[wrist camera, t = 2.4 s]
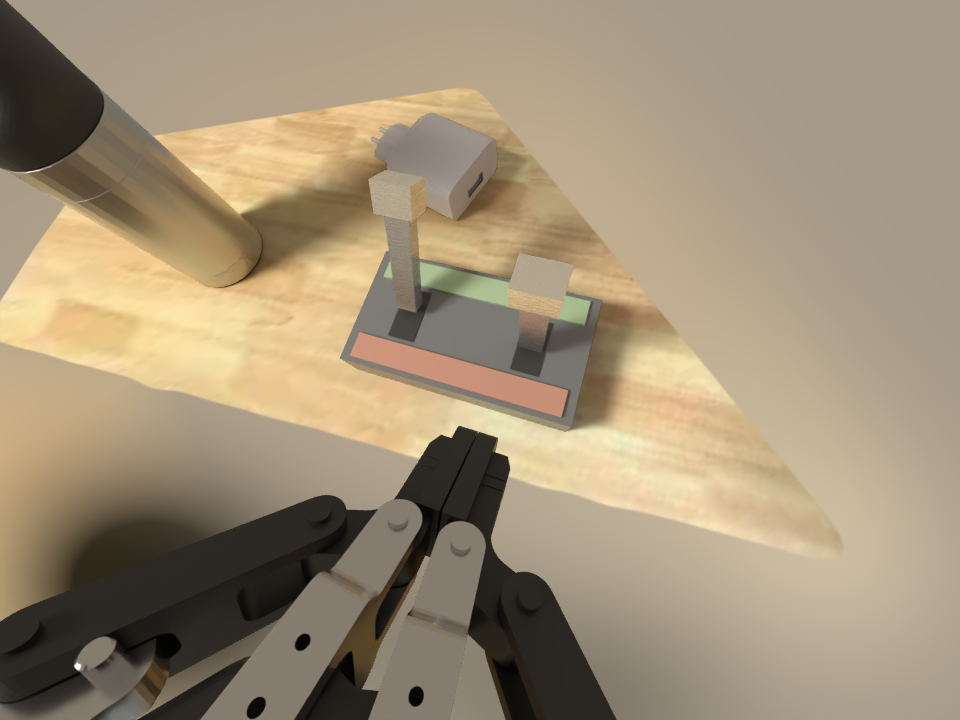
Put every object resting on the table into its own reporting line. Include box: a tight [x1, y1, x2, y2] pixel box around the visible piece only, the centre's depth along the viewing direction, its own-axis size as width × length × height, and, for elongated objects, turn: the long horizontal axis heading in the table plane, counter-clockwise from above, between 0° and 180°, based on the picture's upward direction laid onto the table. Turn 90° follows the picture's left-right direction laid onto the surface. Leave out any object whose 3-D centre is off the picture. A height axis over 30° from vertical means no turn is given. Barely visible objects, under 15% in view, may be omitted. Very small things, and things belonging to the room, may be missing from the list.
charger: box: [370, 113, 497, 221], centre depth 42 cm, size 5×9×15 cm
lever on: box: [368, 170, 426, 313], centre depth 29 cm, size 2×3×11 cm
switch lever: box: [508, 253, 573, 353], centre depth 25 cm, size 2×3×11 cm
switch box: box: [340, 251, 602, 431], centre depth 34 cm, size 12×22×4 cm, turn 72°
